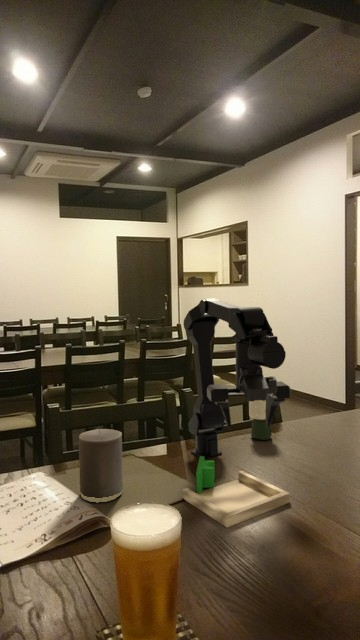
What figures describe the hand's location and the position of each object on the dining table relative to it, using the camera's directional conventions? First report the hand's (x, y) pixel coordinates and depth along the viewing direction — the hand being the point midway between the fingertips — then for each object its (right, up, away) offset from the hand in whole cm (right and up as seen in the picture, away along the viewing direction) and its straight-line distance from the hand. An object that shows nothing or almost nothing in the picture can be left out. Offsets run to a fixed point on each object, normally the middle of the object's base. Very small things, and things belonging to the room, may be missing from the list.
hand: (248, 427), depth 103 cm
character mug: (+9, -11, +33) cm, 36 cm away
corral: (-4, -14, -7) cm, 16 cm away
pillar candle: (-34, -15, -2) cm, 37 cm away
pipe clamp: (-10, -14, +1) cm, 17 cm away
